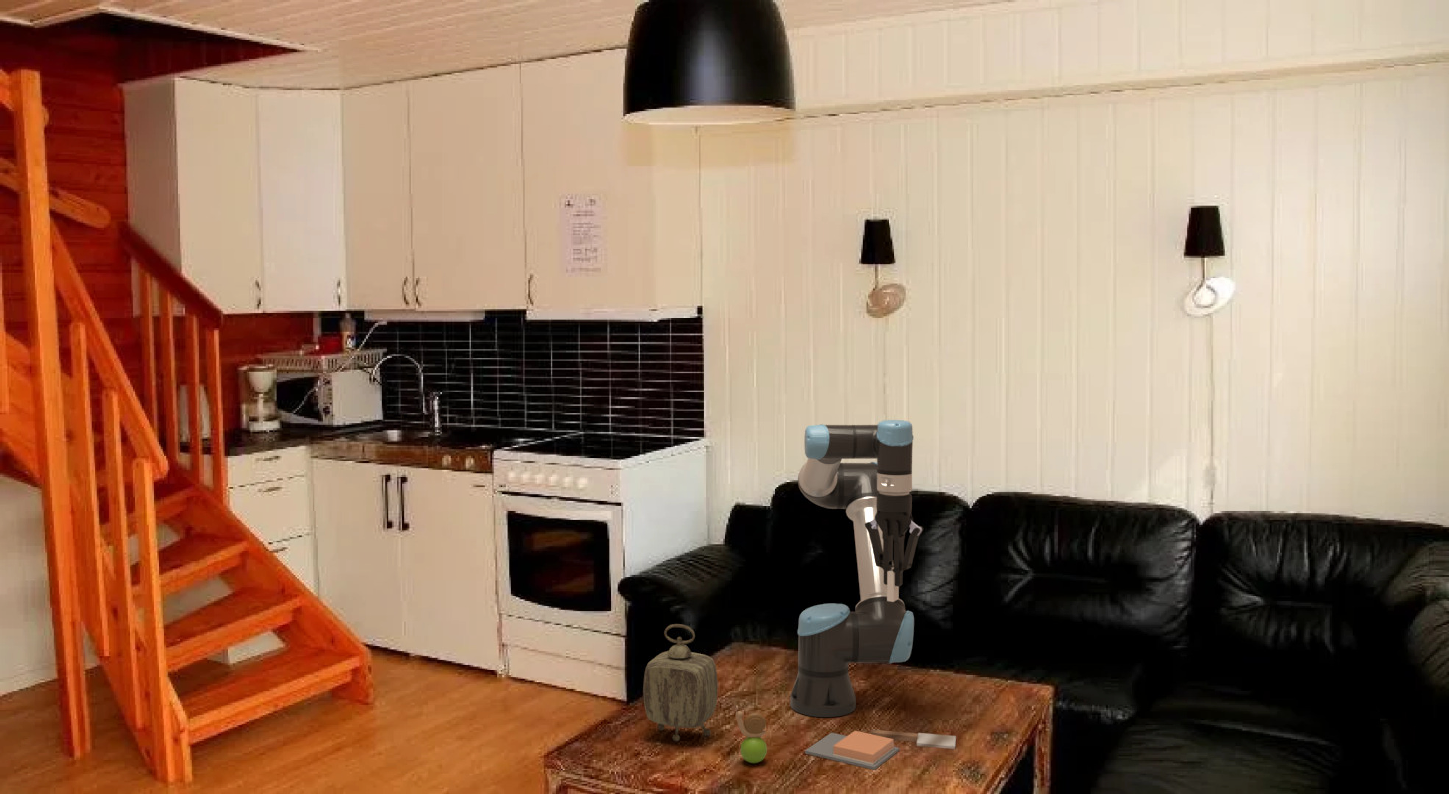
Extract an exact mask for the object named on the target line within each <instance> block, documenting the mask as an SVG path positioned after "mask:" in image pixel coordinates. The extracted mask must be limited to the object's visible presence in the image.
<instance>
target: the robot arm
mask: <svg viewBox="0 0 1449 794" xmlns="http://www.w3.org/2000/svg"><path fill="white" fill-rule="evenodd" d="M913 433H914V431H913V425H912V422H910V421H907V420H902V419H885V420H881V421H879V422H878V423H877V424H823V423H822V424H814V425H808V426H806V428H805V429H804V438H803V439H804V445H803V446H804V454H805V457H806V458H807V460H806V462H805V463H804V464H803V465H802V466H801V468H800V469H799V472H798V475H797V483H798V488H799V490H800V492H801V493H802V494H803V496H804V497H805V498H806V499H808V501H810V502H811V503H813V504H815V505H817V506H820V507H822V508H825V509H832V510H834V509H835V510H837V509H838V510H839V509H841V510H842V509H843V510H845V513H846V516H847V517H848V519H849V520H851V521H852V522H853V530H854V531H853V532H854V542H855V554H856V563H857V573H858V583H859V584H858V585H859V595H860V600H859V601H858V603H857V604H856V605H855V611H851V610H850V608H849V606H848V605H846V604H843V603H835V602H834V603H823V604H817V605H813V606H810V607H807V608H805V610H803V611H801V613H800V614H799V618H798V629H797V635H798V653H797V655H798V656H797V658H798V659H797V670H798V671H797V675H796V678H795V681H794V684H793V687H792V691H791V693H790V696H789V697H790V708H791V709H792V710H793V711H795V712H797V713H798V714H800V715H801V714H802V715H804V716H810V717H817V718H832V717H833V718H835V717H841V716H846V715H849V714H850V713H852V712H854V711H855V710H856V708H857V707H856V705H857V704H856V703H857V702H856V700H857V699H856V694H855V691H854V688H853V685H852V682H851V678H850V675H849V664H855V663H856V664H867V663H868V664H874V663H876V664H889V665H890V664H892V663H903V662H904V663H905V662H906V661H908V660H909V659H910V657H911V655H912V649H913V642H914V634H915V633H914V632H915V630H914V629H915V628H914V627H915V617H914V612H912V611H910V610H906V606H905V603H904V601H903V600H902V599H900V598H899V593H900V592H899V589H900V587H901V586H902V585H903V578H904V577H903V572H904V571H906V570H908V569H910V568H912V565H913V560H914V557H915V553H916V549H917V545H918V541H919V537H920V535H921V534H922V532H923V531H924V526H921V525H918V524H916V523H915V522H914V517H913V516H912V509H913V508H912V507H913V504H912V502H913V496H912V494H911V493H910V492H912V491H913V446H914V445H913V443H914V441H913V440H914V435H913ZM849 459H850V460H851V459H855V460H856V459H861V460H862V459H863V460H865V459H866V460H867V459H869V460H870V459H871V460H872V459H875V460H876V462H875V461H871V462H842V460H849ZM908 530H909V533H910V534H909V537H908V540H907V544H906V548H905V538H906V533H907V531H908Z"/></svg>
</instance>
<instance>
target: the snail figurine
mask: <svg viewBox="0 0 1449 794" xmlns="http://www.w3.org/2000/svg"><path fill="white" fill-rule="evenodd" d="M735 710H736V711H735V717H736V721H737V725H738V728H739V731H740V732H741V734H742V735H744V736H745V737H746V738H745V739H744V740H742V742H741V745H740V754H741V756H742V758H743V760H744V761H746V762H747V763H750V764H757V763H760V762H762V761H763V760H764V759H765V758H766V755H767V752H768V746H767V744H766V743H767V742H766V741H765V740H764V739H763V738H762V737H763V736H765V734H766V733H767V731H766V730H765V728H766V726H767V720H766V718H765V716H763V714H761V713H760V712H752V713H750V714H748V715H746V717H745V719H743V715H744V714H743V712H742V711H741V710H739V705H737V704H736V705H735Z"/></svg>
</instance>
